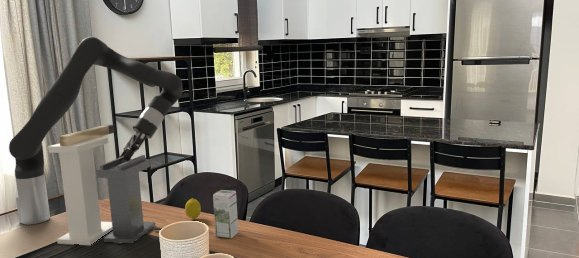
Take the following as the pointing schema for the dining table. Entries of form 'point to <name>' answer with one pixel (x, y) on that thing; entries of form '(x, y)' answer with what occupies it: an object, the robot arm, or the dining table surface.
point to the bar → (85, 135)
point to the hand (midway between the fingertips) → (122, 160)
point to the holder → (125, 198)
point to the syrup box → (225, 213)
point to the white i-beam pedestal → (81, 192)
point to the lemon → (193, 208)
